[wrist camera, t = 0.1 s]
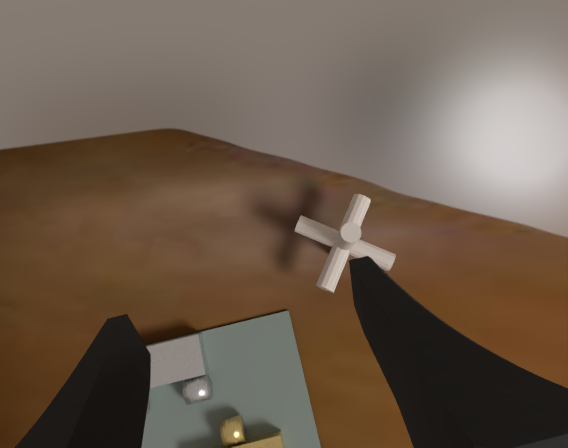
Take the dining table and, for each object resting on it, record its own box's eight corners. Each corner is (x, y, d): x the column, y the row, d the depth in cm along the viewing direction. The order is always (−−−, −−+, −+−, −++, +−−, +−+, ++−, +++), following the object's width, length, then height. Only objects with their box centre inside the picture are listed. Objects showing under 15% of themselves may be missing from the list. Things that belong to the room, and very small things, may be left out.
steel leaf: (128, 418, 42) (118, 424, 40) (119, 353, 44) (109, 355, 41) (214, 396, 42) (209, 401, 40) (202, 333, 44) (197, 334, 41)
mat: (342, 538, 39) (342, 539, 39) (117, 596, 39) (115, 598, 38) (288, 310, 44) (288, 310, 44) (88, 359, 44) (86, 359, 43)
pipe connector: (279, 274, 45) (275, 261, 36) (314, 194, 47) (319, 162, 37) (364, 311, 44) (384, 309, 34) (397, 228, 46) (424, 203, 36)
